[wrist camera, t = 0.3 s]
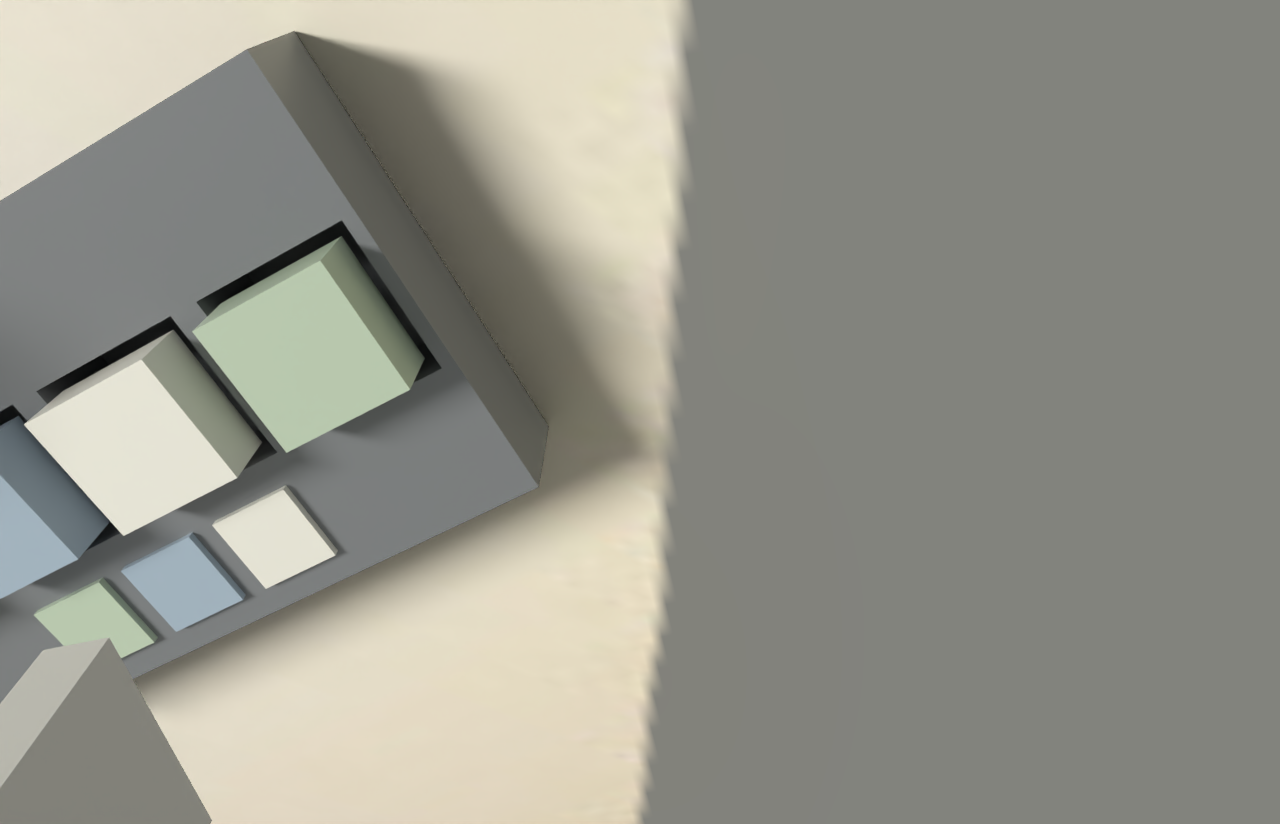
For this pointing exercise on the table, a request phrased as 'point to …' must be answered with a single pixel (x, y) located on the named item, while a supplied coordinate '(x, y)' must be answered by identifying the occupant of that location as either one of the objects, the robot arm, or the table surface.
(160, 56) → the table surface
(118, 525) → the key ivory
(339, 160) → the keypad
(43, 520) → the key slate
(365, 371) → the key sage
